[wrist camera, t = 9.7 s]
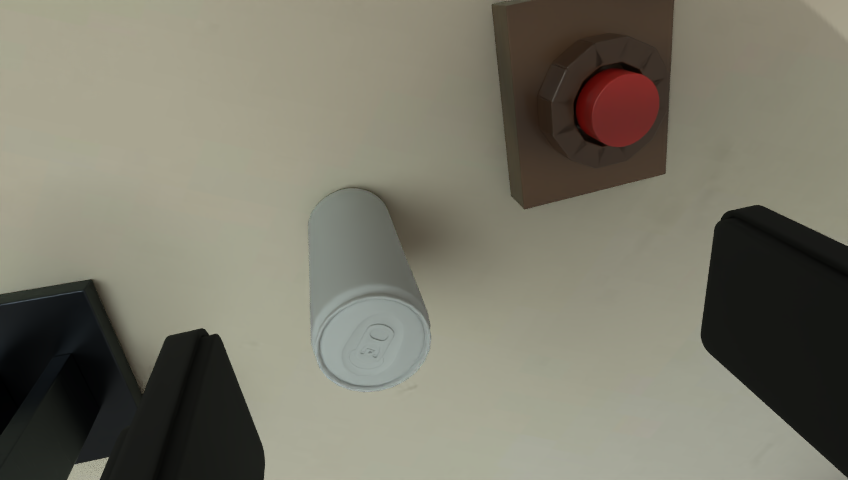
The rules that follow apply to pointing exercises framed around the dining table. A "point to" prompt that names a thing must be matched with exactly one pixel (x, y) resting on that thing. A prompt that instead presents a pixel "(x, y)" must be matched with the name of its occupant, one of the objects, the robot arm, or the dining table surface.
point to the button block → (576, 91)
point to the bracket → (60, 382)
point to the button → (617, 107)
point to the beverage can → (363, 295)
